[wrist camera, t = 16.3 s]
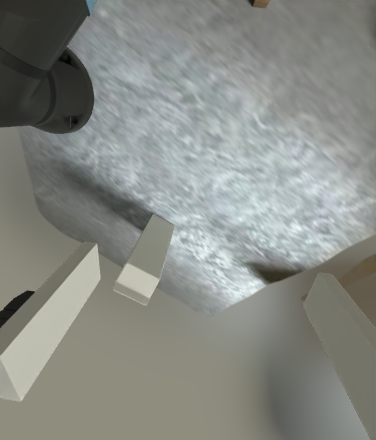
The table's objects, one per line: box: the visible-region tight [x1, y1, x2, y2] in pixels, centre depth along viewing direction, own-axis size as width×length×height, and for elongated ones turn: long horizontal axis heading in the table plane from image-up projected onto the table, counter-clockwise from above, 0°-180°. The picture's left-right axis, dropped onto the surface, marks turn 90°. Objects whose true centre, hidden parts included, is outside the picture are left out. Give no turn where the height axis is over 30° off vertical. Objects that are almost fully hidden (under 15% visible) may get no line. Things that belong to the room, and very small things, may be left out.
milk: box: [113, 214, 175, 305], centre depth 42 cm, size 6×6×22 cm
